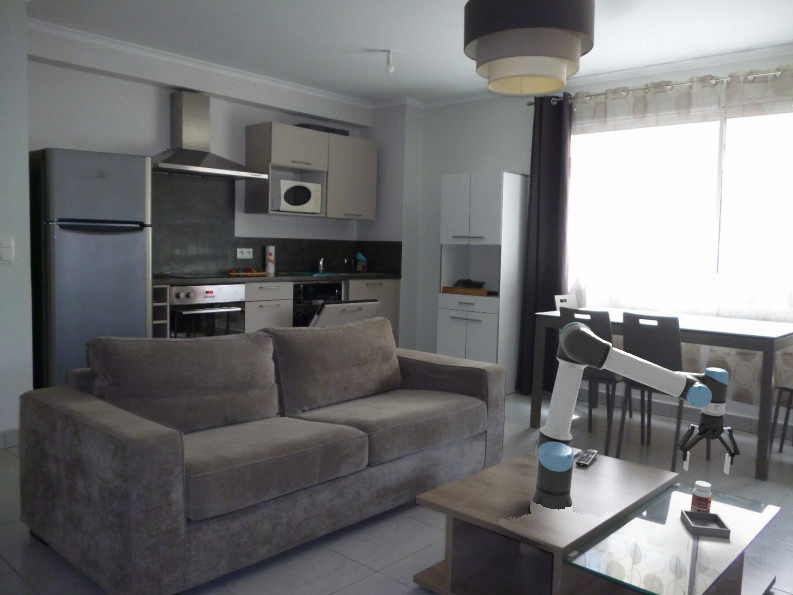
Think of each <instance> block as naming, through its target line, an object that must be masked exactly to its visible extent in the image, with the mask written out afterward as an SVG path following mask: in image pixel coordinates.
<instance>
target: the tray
mask: <svg viewBox="0 0 793 595" xmlns="http://www.w3.org/2000/svg"><path fill="white" fill-rule="evenodd" d="M679 518H680V519H681V521H682V523H683V524H684V526H685V527H686V529H687V530H688V532H689V533H690V535H693V536H700V537H701V536H702V537H709V538H710V537H711V538H718V539H728V540H729V539H730V538H731V532H732V531H731V528H730V527H729V526H728V525H727V524H726V523H725V521H724V520H723V518H722V517H721V516H720V515H719V514H718V513H715V512H710V513H707V512H697V511H691V510H689V509H688V510H687V509H681V510H680V517H679Z"/></svg>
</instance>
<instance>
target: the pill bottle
mask: <svg viewBox="0 0 793 595" xmlns="http://www.w3.org/2000/svg"><path fill="white" fill-rule="evenodd" d="M711 491H712V484H711V483H709V482H707V481H705V480H697V481H695V483H694V488H693V489H692V495H691V501H690V502H691V504H690V511H697V512H707V513H711V505H712V497H713V496H712V492H711Z"/></svg>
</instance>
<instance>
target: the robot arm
mask: <svg viewBox="0 0 793 595" xmlns="http://www.w3.org/2000/svg"><path fill="white" fill-rule="evenodd" d="M558 342H559V343H558V348H557V351H556V360H557V361H558V368H557V373H556V378H555V380H554V385H553V389H552V390H553V391H552V395H551V398H550V403H549V408H548V411H547V412H548V413H547V417H546V422H545V425H543V426H542V427H540V429H539V431H538V437H537V438H536V439H535V443H534V447H533V448H534V455H535V459H536V461H535V462H536V466H537V467H536V468H537V470H536V480H535V488H534V492H533V493H532V495H531V498H530V500H531V499H532V501H533V502H534V503H536V504H541V505H542V506H543V507H546V508H550V509H558V510H559V509H565V507H571V506H572V504H573V500H572V496H571V490H572V480H573V479H572V478H573V468H574V462H575V454H574V450H573V449H572V446H571V445H572V440H573V435H572V434H571V432H570V430H571V426H572V420H573V417H574V413H575V409H576V405H577V399H578V396H579V392H580V386H581V384H582V383H581V382H582V379H583V374H584V369H585V368H587V367H591V368H594V369H597V370H599V371H601V370H603V369H604V370H605V369H606V370H608V371H610V372H613V373H615V374H617V375H620V376H622V377H625V378H627V379H631V380H632V381H634V382H638V383H640V384H642V385H646V386H648V387H650V388H653V389H655V390H658V391H660V392H663V393H665V394H668V395H670V396H673V397H675V398H678V399H680V400H682V401H685V402H687V403H688V404H689V405H690V406H693V407H695V408H699V409H700V410H701V411H700V412H699V413H700V414H699V422H698V425H696V424H693V423H689V425H688V427H687V428H688V429H687V430H686V432H685V434H684V435H683V437H682V438H681V439H680V441H679V442H678V444H677V445H676V447H677V448H678V450H679V451H681V452H682V453H681V460H682V461H683V467H682V468H683V470H684V471H685V472H688V471H689V462H690V455H691V453H690V452H689V451H690V450H692V448H694V447H695V446H696V445H697V444H698V443H699V442H700V441H702V440H704V439H705V440H713V441H715V440H718V441H719V443H720V444H721V445H722V446H723V448H724V449H725V451H726V452H727V453H725V458H724V465H723V466H724V467H723V472H724V474H725V475H726V476H727V475H730V468H731V466H733V464H734V458H736V456H740V455H741V452H740V449H739V447H738V445H737V442H736V440H735V438H734V434H733V433H734V432H733V428H732V427H730V426H726V427H724V421H725V415H724V414H726V413H725V412H726V405H727V404H726V402H727V395H728V388H729V387H728V386H729V372H728V371H727V370H726V369H723V368H720V367H706V368H705V369H704V372H702V373H700V372H699V373H698V372H697V373H696V372H686V371H679V370H678V371H674V370H670V369H668V368H665V367H662V366H660V365H658V364H656V363H653V362H650V361H648V360H646V359H643V358H640V357H638V356H635V355H633V354H631V353H629V352H628V353H627V352H626V351H623V350H621V349H618V348H615V347H613V345H612V343H611V342H609V341H607V340H604V339H602V338H600V337H599V336H598V335H596V333H594V332H593V330H592V329H591V327H590V326H588V325H586V324H585V323H582V322H577V321H576V322H570V323H567V324H566V325H565V326H563V328H562V329H561V330H560V332H559V335H558ZM697 430H698V432H696V431H697ZM695 432H696V433H695ZM694 433H695V436H694V437H692V436H693V435H694ZM723 433H725V434H726V435H727V438H728V442H729V443H730V445H731V447H732V448H730V446H729V445H728V443H727V442H726V441H725V440H724V438H723V437H722V436H721V435H723Z"/></svg>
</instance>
